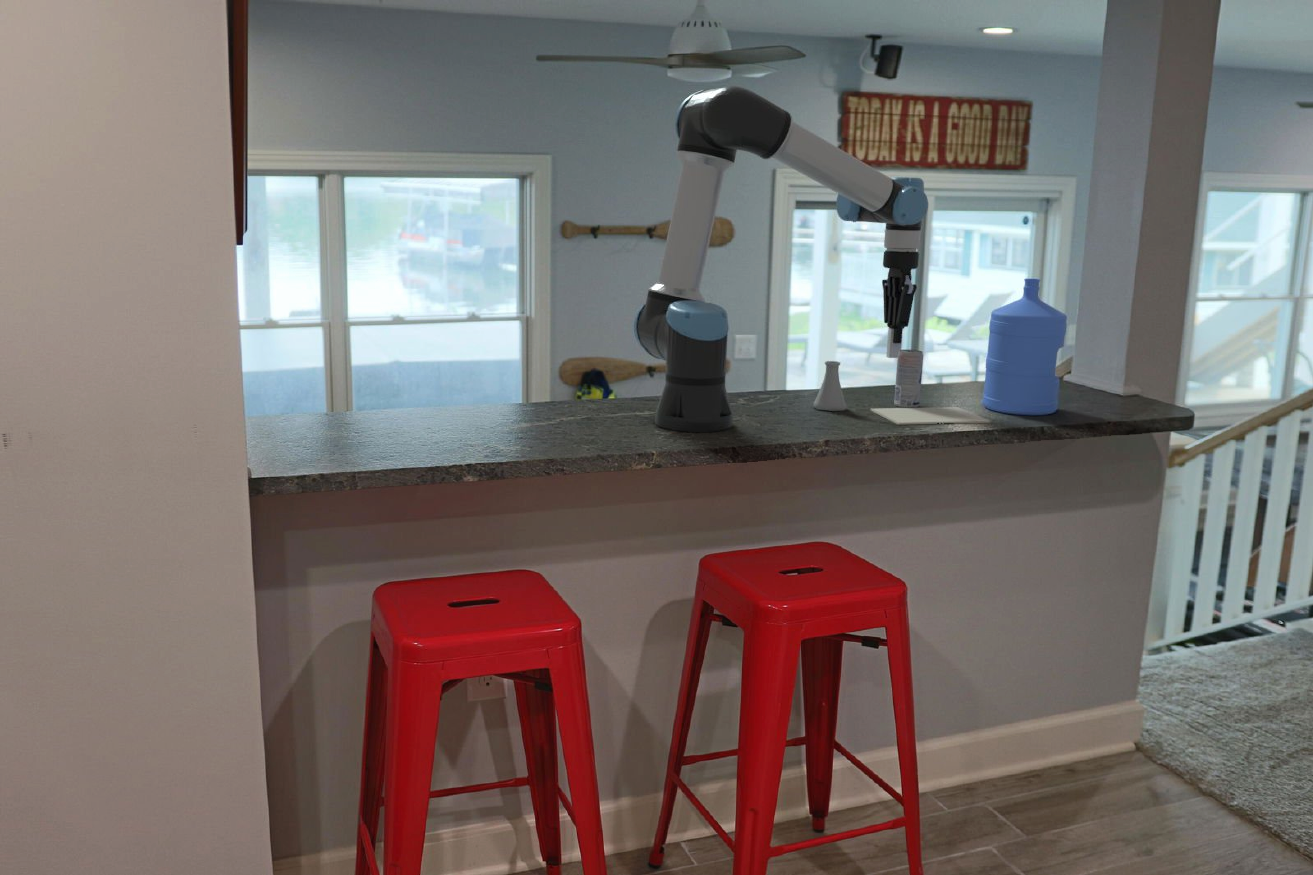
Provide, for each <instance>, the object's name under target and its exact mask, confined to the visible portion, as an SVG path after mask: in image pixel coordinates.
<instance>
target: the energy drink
mask: <svg viewBox="0 0 1313 875" xmlns="http://www.w3.org/2000/svg"><path fill="white" fill-rule="evenodd" d="M896 359H897V362H896V374H895V375H896V376H895V387H894V401H893V404H894V406H896V408H919V406H920V401H921V390H922V389H921V387H922V374H923V364H924V362H923V361H924V354H923V351H921V350H920V349H919V350H916V349H901V350H899V353H898V358H896Z"/></svg>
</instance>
